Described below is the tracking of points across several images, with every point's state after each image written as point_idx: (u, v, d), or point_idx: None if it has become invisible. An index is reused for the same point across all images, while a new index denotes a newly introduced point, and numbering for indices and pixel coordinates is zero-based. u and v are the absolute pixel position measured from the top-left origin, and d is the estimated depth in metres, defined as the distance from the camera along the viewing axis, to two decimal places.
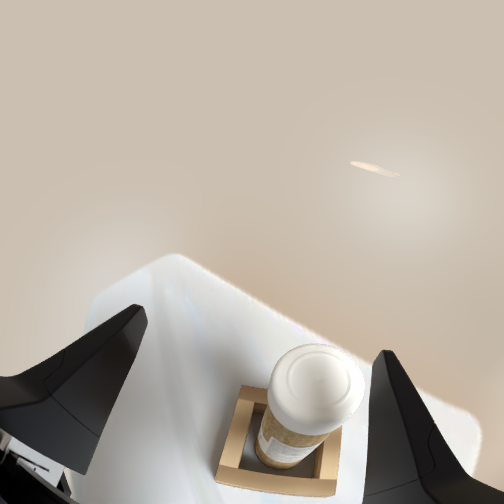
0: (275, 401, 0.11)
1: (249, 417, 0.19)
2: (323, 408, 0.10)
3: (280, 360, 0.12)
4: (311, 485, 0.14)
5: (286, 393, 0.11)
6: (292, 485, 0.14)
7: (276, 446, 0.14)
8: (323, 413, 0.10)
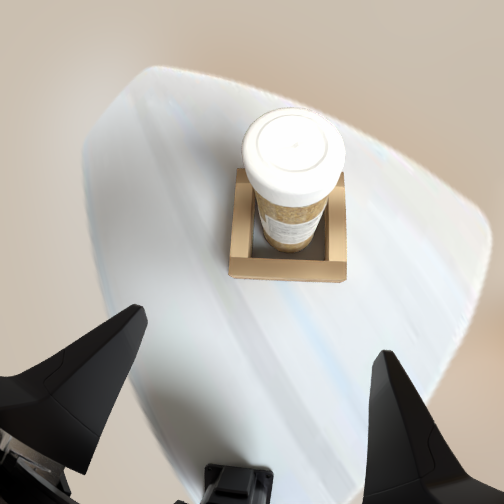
0: (248, 172, 0.11)
1: (250, 200, 0.22)
2: (299, 174, 0.11)
3: (248, 129, 0.11)
4: (321, 268, 0.21)
5: (258, 162, 0.11)
6: (303, 269, 0.21)
7: (273, 225, 0.17)
8: (300, 179, 0.11)
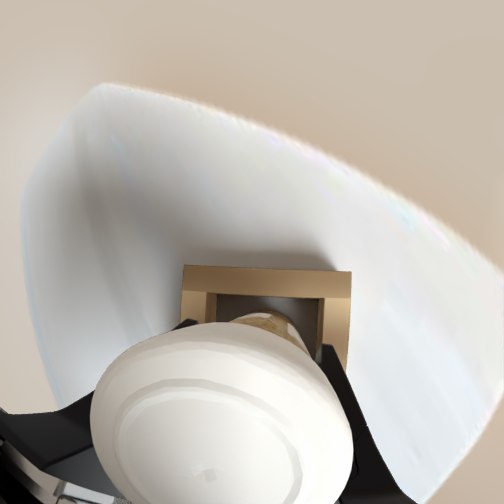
0: (118, 484, 0.03)
1: (203, 320, 0.14)
2: None
3: (94, 398, 0.04)
4: None
5: (126, 487, 0.03)
6: None
7: None
8: None
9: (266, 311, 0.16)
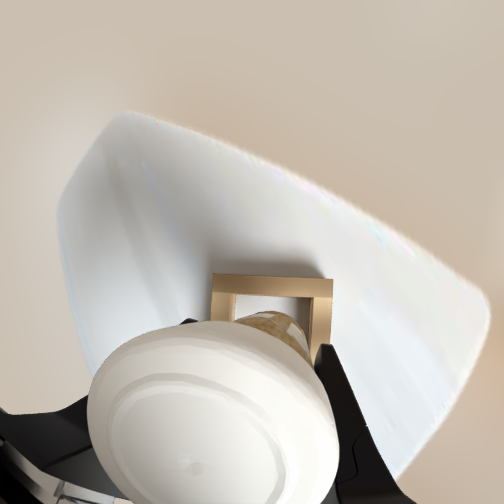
0: (114, 476, 0.04)
1: (227, 313, 0.20)
2: None
3: (90, 391, 0.04)
4: None
5: (120, 479, 0.03)
6: None
7: None
8: None
9: (271, 311, 0.16)
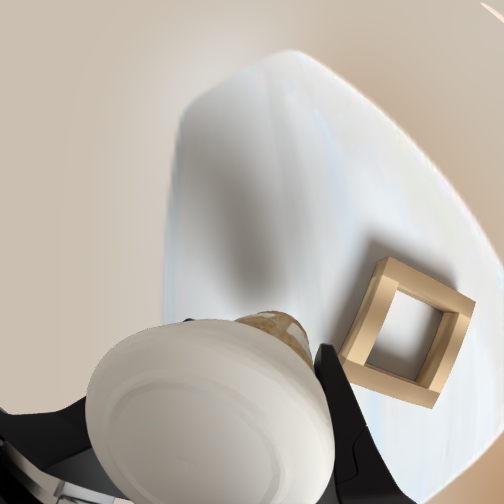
0: (112, 473, 0.04)
1: (390, 302, 0.17)
2: None
3: (88, 388, 0.04)
4: (419, 395, 0.16)
5: (117, 476, 0.03)
6: (405, 391, 0.16)
7: None
8: None
9: (273, 311, 0.16)
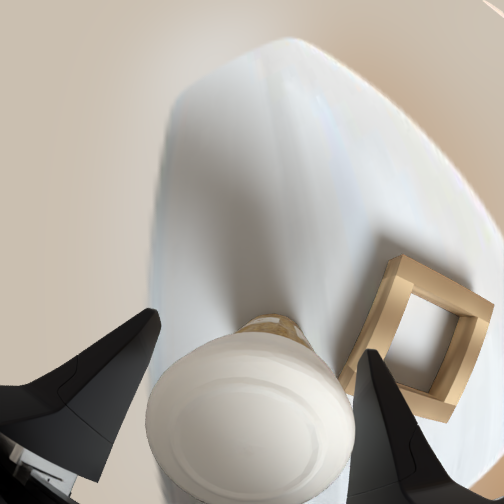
0: (165, 470, 0.05)
1: (404, 306, 0.15)
2: (252, 500, 0.04)
3: (151, 398, 0.05)
4: (434, 408, 0.13)
5: (176, 471, 0.04)
6: (419, 406, 0.13)
7: None
8: None
9: (273, 314, 0.17)
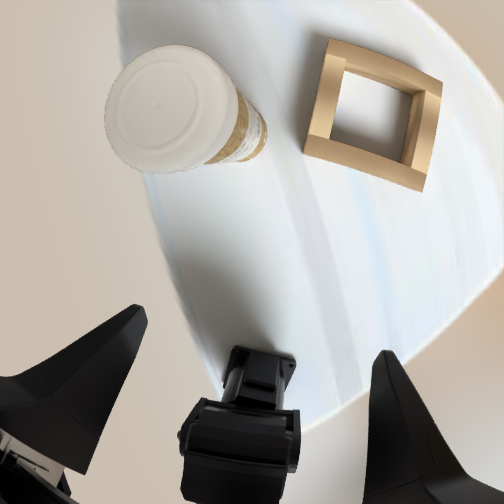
0: (120, 158, 0.08)
1: (341, 77, 0.15)
2: (169, 147, 0.08)
3: (106, 104, 0.08)
4: (402, 173, 0.17)
5: (122, 146, 0.08)
6: (384, 168, 0.17)
7: None
8: (171, 154, 0.08)
9: None
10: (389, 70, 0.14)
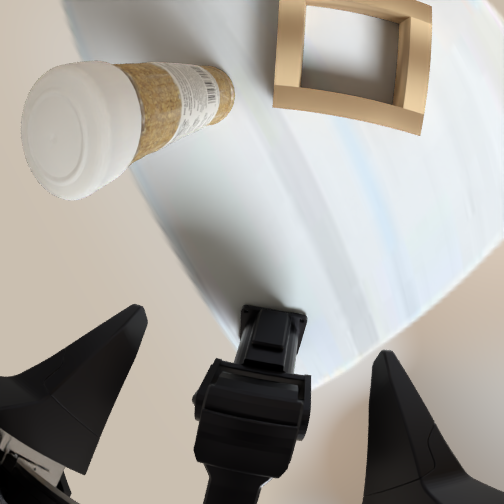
0: (49, 189, 0.08)
1: (302, 15, 0.11)
2: (74, 176, 0.07)
3: (22, 143, 0.06)
4: (393, 115, 0.13)
5: (44, 181, 0.07)
6: (370, 111, 0.13)
7: None
8: (79, 182, 0.07)
9: None
10: None
